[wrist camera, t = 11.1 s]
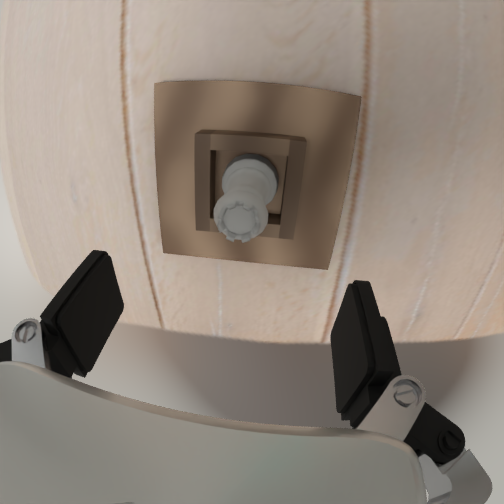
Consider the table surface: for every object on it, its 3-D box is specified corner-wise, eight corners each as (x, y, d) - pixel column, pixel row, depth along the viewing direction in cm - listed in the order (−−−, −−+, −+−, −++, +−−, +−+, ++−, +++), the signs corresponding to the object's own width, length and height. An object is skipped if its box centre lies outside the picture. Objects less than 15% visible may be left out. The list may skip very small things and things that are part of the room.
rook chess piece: (245, 141, 21) (228, 169, 15) (290, 175, 23) (295, 218, 16) (213, 183, 23) (185, 228, 17) (256, 213, 25) (246, 269, 18)
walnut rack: (357, 95, 19) (369, 98, 17) (326, 262, 28) (330, 282, 25) (160, 82, 20) (143, 83, 17) (167, 246, 29) (156, 264, 26)
